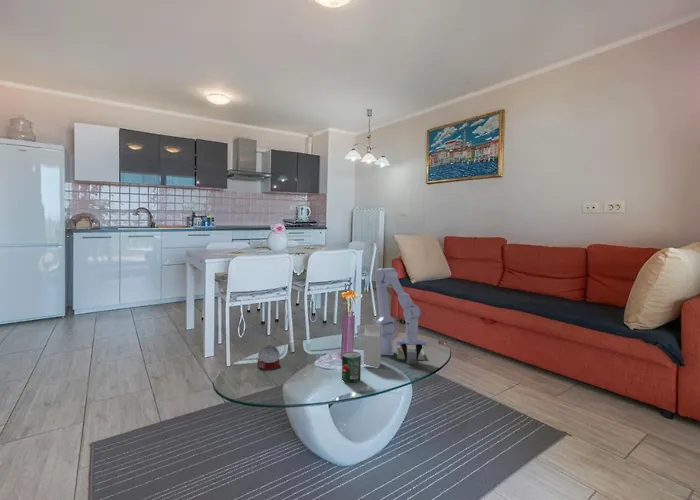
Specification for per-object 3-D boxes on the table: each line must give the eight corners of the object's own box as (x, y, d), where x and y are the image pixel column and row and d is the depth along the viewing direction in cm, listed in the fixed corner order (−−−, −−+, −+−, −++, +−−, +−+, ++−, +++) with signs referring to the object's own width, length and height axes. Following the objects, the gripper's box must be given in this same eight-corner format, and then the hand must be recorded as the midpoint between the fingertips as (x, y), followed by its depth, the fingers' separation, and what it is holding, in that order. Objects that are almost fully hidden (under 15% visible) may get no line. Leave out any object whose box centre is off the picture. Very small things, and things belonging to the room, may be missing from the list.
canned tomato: (337, 380, 153) (337, 354, 152) (350, 375, 158) (350, 350, 158) (351, 385, 147) (352, 358, 147) (364, 380, 153) (364, 354, 153)
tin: (406, 364, 173) (406, 351, 172) (405, 361, 177) (405, 348, 177) (416, 365, 172) (416, 351, 172) (415, 361, 177) (415, 348, 177)
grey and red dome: (278, 372, 173) (288, 354, 172) (267, 378, 164) (277, 359, 163) (260, 359, 177) (270, 341, 176) (248, 363, 167) (258, 344, 166)
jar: (400, 357, 183) (400, 346, 182) (399, 354, 186) (399, 344, 186) (407, 357, 182) (407, 346, 182) (406, 354, 186) (407, 344, 186)
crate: (397, 359, 180) (397, 353, 180) (396, 353, 190) (396, 347, 190) (424, 360, 179) (424, 354, 179) (421, 354, 189) (421, 348, 189)
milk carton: (379, 369, 166) (379, 327, 165) (363, 368, 168) (364, 326, 167) (380, 364, 173) (381, 324, 172) (365, 363, 174) (366, 323, 174)
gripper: (397, 333, 171) (396, 362, 171) (428, 334, 170) (427, 363, 170) (395, 329, 178) (395, 357, 178) (426, 330, 177) (425, 358, 177)
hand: (411, 359), depth 175 cm, fingers closed on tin, 4 cm apart
